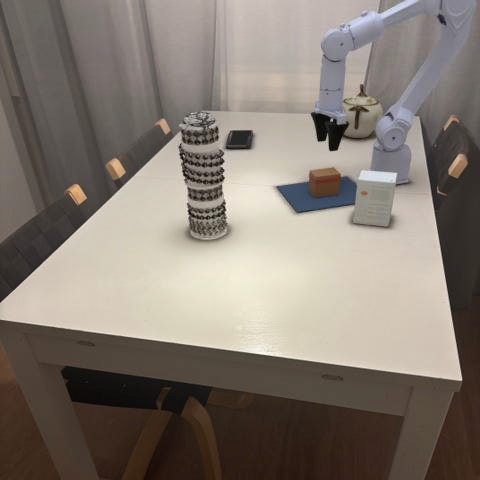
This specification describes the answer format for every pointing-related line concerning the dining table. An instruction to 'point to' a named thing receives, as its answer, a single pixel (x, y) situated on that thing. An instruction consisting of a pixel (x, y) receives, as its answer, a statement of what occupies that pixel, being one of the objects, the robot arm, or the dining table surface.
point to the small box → (374, 198)
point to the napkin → (306, 202)
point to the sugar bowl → (361, 114)
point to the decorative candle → (203, 175)
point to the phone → (239, 139)
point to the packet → (324, 182)
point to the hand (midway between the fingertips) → (327, 145)
